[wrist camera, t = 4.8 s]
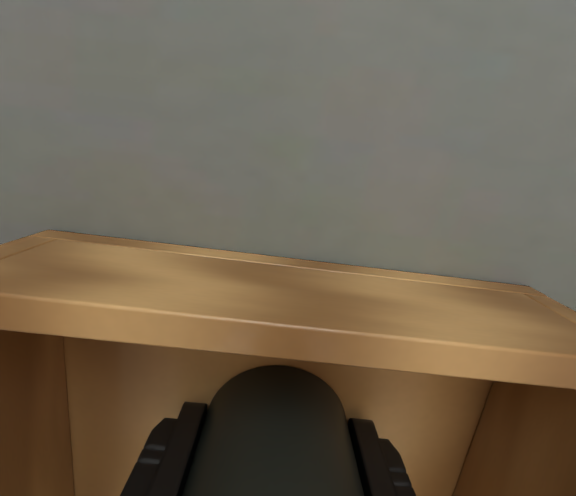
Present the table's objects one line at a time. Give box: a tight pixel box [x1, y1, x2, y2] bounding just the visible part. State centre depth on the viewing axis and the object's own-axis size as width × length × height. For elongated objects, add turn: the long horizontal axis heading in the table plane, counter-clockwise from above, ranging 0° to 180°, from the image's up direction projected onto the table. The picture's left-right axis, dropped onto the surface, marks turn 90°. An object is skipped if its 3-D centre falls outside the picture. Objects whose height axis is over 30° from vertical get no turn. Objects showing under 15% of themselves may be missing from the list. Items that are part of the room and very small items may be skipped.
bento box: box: [0, 230, 576, 496], centre depth 10 cm, size 16×12×4 cm
